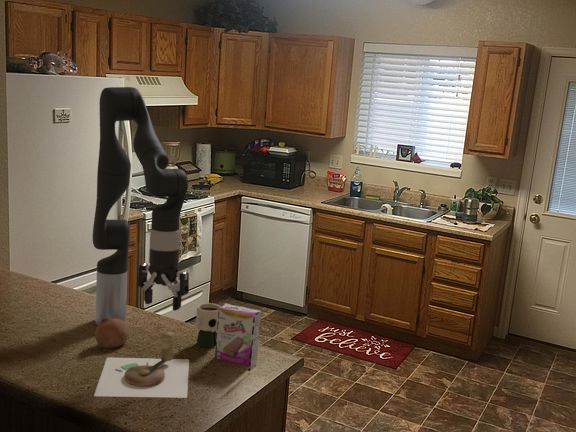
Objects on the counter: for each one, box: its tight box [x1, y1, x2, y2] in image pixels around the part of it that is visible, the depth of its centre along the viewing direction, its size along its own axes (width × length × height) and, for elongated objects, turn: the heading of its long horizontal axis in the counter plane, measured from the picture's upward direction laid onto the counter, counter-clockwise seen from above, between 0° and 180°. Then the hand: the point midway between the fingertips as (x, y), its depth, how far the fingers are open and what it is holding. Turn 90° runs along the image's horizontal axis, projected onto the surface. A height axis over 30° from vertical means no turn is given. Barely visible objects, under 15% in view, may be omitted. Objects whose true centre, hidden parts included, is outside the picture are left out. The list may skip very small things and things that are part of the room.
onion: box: [94, 317, 130, 349], centre depth 183 cm, size 10×9×10 cm
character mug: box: [194, 302, 222, 349], centre depth 188 cm, size 11×7×13 cm, turn 147°
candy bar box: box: [214, 303, 262, 371], centre depth 179 cm, size 11×5×16 cm, turn 71°
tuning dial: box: [125, 331, 175, 387], centre depth 166 cm, size 17×10×8 cm, turn 158°
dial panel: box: [93, 357, 190, 399], centre depth 165 cm, size 22×22×2 cm
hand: (162, 306), depth 167 cm, fingers open, 8 cm apart
